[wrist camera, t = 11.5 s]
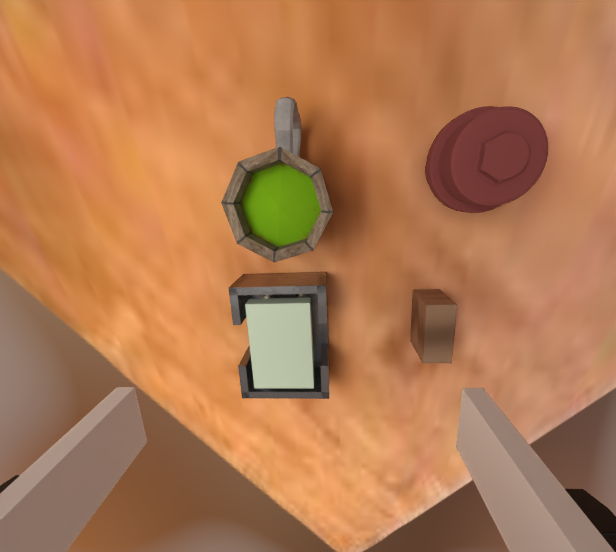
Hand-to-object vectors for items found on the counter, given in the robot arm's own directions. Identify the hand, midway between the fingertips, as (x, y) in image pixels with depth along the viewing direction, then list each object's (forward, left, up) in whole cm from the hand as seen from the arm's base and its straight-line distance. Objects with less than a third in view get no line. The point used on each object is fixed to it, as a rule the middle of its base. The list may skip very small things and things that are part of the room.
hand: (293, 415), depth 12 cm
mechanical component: (-11, +17, -31) cm, 37 cm away
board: (+10, -5, -26) cm, 28 cm away
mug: (-10, -3, -31) cm, 33 cm away
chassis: (+10, -5, -31) cm, 33 cm away
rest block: (+9, +15, -31) cm, 35 cm away
